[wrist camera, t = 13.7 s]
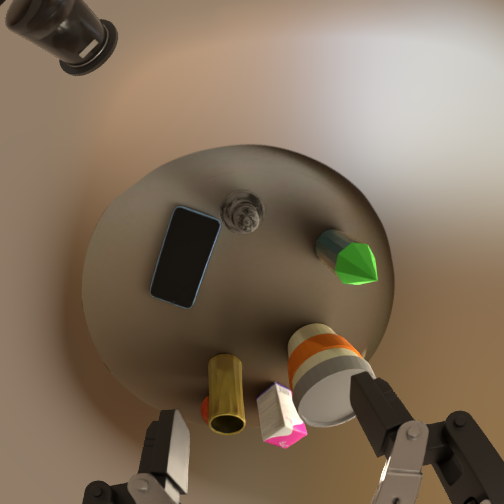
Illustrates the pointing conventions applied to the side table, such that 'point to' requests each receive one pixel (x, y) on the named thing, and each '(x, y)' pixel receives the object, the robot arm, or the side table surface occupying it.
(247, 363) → the side table surface
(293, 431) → the supplement box
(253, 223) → the chess piece
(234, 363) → the vase
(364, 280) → the gemstone
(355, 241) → the teal cup
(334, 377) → the reusable coffee cup
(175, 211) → the smartphone
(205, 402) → the fruit
